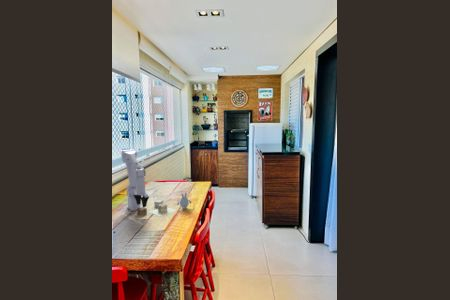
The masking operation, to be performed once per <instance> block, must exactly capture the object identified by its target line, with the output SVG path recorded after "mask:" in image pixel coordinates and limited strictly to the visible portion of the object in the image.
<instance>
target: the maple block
mask: <svg viewBox="0 0 450 300" xmlns="http://www.w3.org/2000/svg"><path fill="white" fill-rule="evenodd" d="M167 207H168V205H167V203H164V202H163V204H160V205H158V207H157V209H158V211H159V212H161V213H163V212H166V211H167Z"/></svg>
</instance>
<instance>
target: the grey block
mask: <svg viewBox="0 0 450 300" xmlns="http://www.w3.org/2000/svg"><path fill="white" fill-rule="evenodd" d="M153 203H154V207H155V208H158V205H160V204H163V203H164V200H161V199H157V200H154V202H153Z"/></svg>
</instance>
